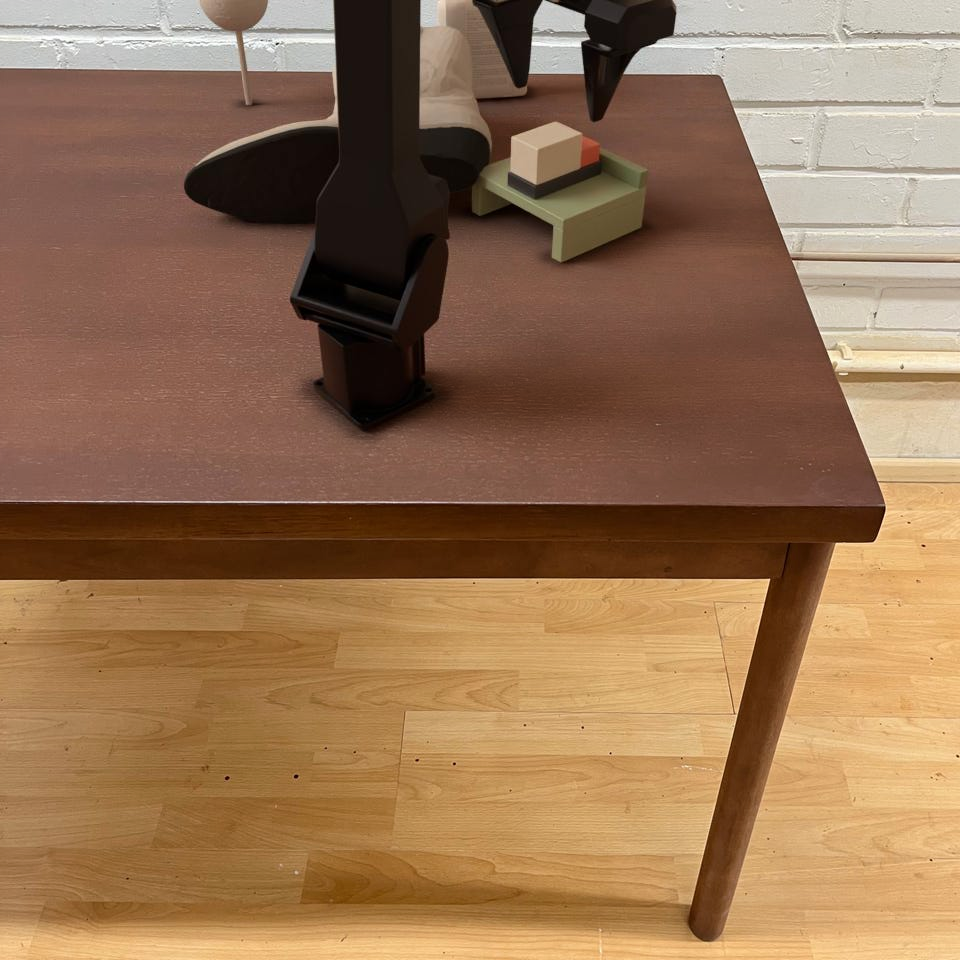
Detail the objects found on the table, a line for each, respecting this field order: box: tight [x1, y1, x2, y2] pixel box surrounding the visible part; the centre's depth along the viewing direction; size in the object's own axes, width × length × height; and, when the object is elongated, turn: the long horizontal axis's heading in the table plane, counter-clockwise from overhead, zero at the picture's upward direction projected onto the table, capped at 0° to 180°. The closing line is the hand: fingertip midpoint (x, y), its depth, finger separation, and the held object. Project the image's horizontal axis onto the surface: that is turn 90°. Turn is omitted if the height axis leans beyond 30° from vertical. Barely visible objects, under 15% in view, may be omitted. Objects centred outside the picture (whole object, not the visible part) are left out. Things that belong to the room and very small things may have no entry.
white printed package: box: [437, 0, 528, 100], centre depth 110 cm, size 10×4×12 cm, turn 102°
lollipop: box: [198, 0, 269, 106], centre depth 106 cm, size 7×7×15 cm
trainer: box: [507, 120, 602, 200], centre depth 87 cm, size 8×4×4 cm, turn 130°
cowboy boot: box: [183, 25, 493, 225], centre depth 96 cm, size 10×28×25 cm
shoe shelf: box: [471, 147, 650, 263], centre depth 90 cm, size 10×12×6 cm
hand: (557, 103), depth 84 cm, fingers open, 9 cm apart
